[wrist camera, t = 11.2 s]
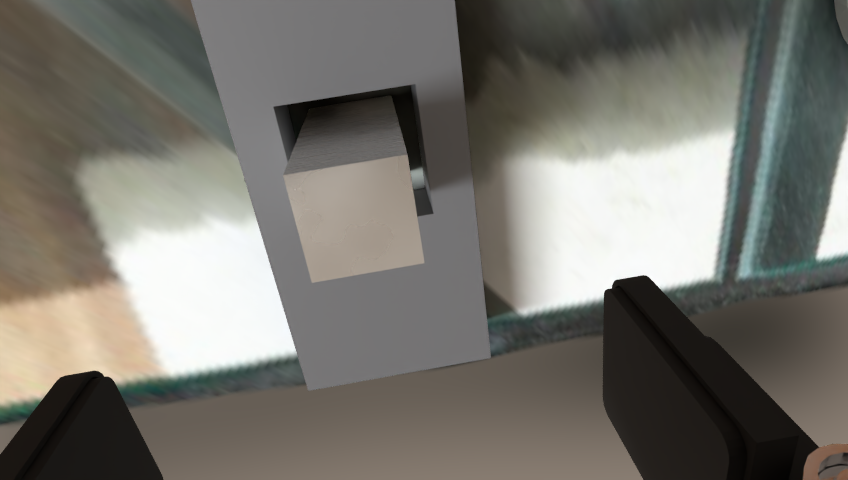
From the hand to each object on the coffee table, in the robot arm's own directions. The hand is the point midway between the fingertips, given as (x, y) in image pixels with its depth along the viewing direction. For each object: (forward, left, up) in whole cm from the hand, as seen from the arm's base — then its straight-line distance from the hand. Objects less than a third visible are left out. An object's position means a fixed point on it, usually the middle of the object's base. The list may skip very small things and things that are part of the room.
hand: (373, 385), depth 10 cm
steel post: (0, 0, -19) cm, 19 cm away
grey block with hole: (0, 0, -19) cm, 19 cm away
